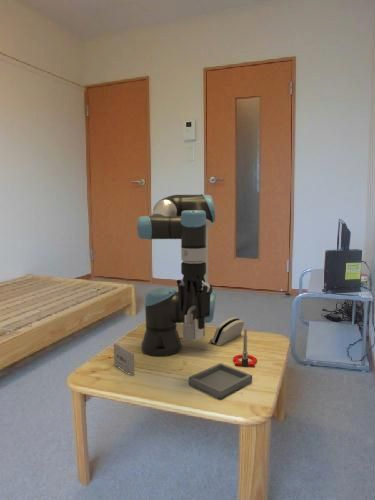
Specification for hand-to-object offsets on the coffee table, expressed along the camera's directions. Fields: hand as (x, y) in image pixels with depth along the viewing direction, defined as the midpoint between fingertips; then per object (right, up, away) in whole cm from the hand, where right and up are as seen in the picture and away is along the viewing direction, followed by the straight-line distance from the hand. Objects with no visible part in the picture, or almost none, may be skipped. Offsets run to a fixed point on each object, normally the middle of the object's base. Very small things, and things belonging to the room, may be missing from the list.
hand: (193, 336), depth 122 cm
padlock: (0, -1, 0) cm, 1 cm away
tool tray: (+8, -15, +1) cm, 17 cm away
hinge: (+14, -10, +40) cm, 43 cm away
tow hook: (+18, -13, +18) cm, 29 cm away
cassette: (-23, -14, +12) cm, 30 cm away
